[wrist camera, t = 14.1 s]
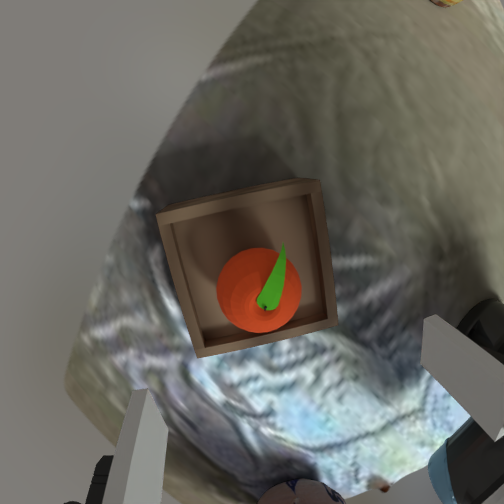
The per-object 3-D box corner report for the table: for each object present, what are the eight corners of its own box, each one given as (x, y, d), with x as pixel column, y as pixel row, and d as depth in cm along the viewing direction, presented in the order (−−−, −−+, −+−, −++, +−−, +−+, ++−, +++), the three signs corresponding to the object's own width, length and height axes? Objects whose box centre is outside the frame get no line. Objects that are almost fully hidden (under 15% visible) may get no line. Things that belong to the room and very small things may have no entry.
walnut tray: (297, 177, 34) (319, 179, 26) (316, 296, 37) (338, 325, 30) (168, 204, 33) (155, 214, 25) (199, 323, 36) (197, 358, 29)
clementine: (235, 217, 28) (242, 232, 21) (306, 243, 29) (334, 265, 22) (205, 298, 29) (204, 335, 22) (274, 319, 31) (290, 359, 24)
